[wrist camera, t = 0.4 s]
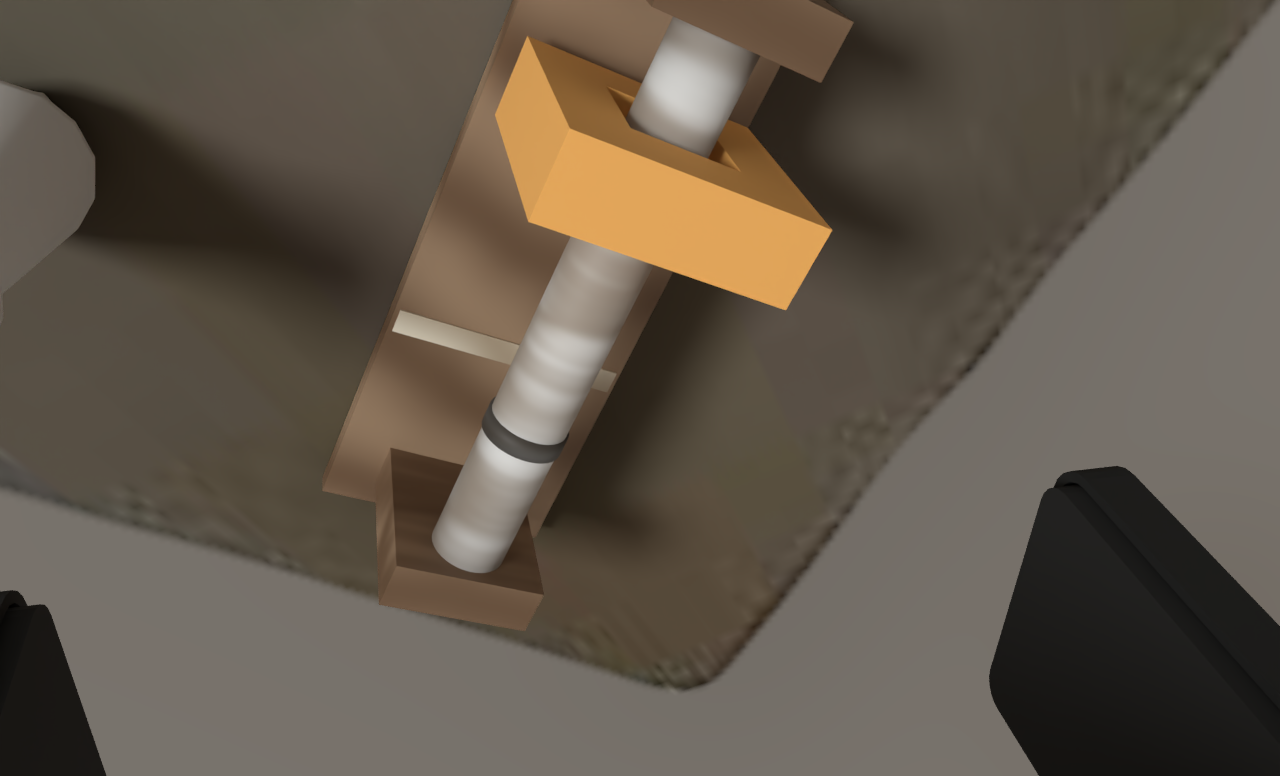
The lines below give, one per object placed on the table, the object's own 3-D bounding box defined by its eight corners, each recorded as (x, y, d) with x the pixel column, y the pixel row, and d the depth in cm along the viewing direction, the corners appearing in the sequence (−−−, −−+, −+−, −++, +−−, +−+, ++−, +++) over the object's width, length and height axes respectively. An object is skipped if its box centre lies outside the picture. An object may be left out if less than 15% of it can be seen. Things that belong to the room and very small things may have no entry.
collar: (527, 35, 38) (569, 128, 31) (747, 127, 42) (832, 229, 34) (494, 114, 39) (528, 221, 32) (711, 197, 43) (785, 310, 36)
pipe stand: (580, -171, 37) (634, -128, 30) (825, -46, 41) (922, 17, 34) (322, 476, 49) (318, 614, 42) (532, 523, 53) (559, 656, 46)
